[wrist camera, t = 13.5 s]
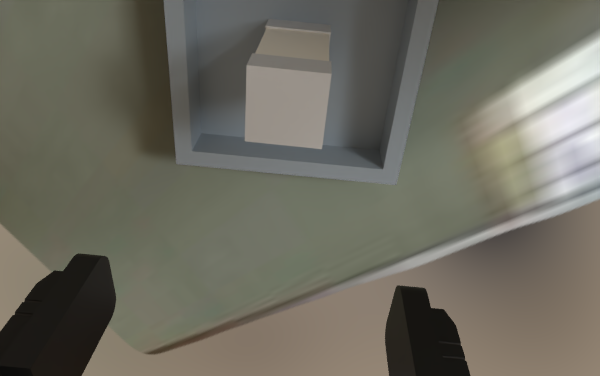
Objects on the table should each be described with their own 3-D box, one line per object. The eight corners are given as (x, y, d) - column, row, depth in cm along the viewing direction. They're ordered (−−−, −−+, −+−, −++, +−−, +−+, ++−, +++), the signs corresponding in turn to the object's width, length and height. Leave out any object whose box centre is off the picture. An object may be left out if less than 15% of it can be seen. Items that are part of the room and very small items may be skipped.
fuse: (330, 24, 31) (331, 73, 22) (323, 84, 33) (321, 149, 25) (268, 18, 31) (246, 65, 22) (266, 78, 33) (244, 141, 25)
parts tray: (439, -72, 28) (454, -67, 25) (390, 158, 37) (396, 185, 34) (176, -97, 28) (156, -95, 25) (190, 139, 37) (176, 164, 34)
